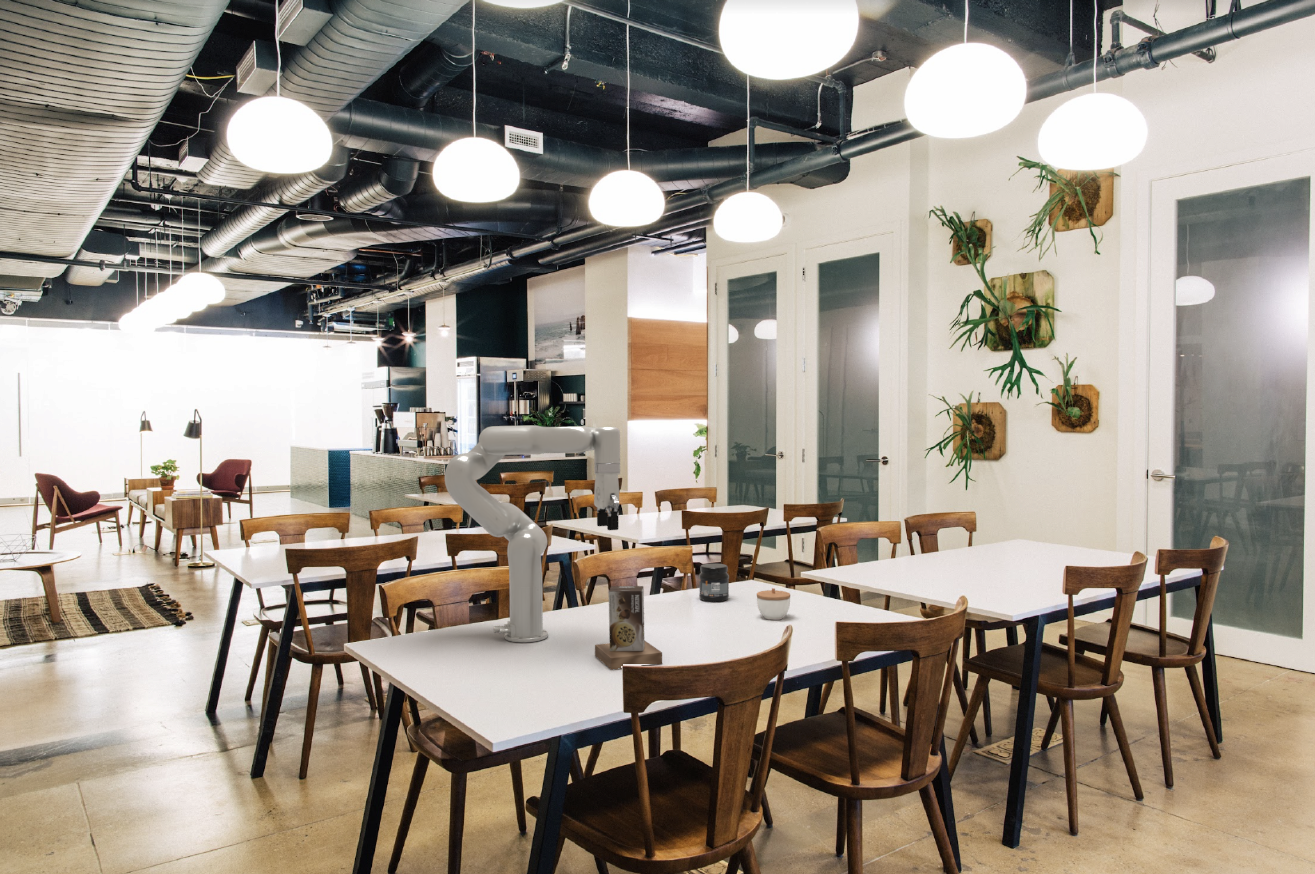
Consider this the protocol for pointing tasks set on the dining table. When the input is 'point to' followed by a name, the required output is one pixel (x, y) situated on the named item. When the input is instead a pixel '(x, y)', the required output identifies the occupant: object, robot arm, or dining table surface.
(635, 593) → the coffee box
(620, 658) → the block
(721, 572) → the supplement container
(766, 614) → the lidded jar
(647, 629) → the dining table surface
